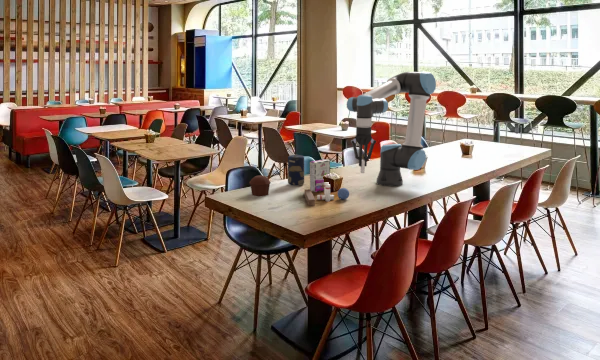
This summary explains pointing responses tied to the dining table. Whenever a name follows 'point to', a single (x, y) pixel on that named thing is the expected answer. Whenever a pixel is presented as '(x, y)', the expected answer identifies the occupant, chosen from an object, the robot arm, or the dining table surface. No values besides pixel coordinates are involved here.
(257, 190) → the muffin
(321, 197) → the front pin
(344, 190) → the ball
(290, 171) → the canister
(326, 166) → the candy bar box
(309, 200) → the back wall
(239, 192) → the dining table surface
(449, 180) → the dining table surface
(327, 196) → the pin
